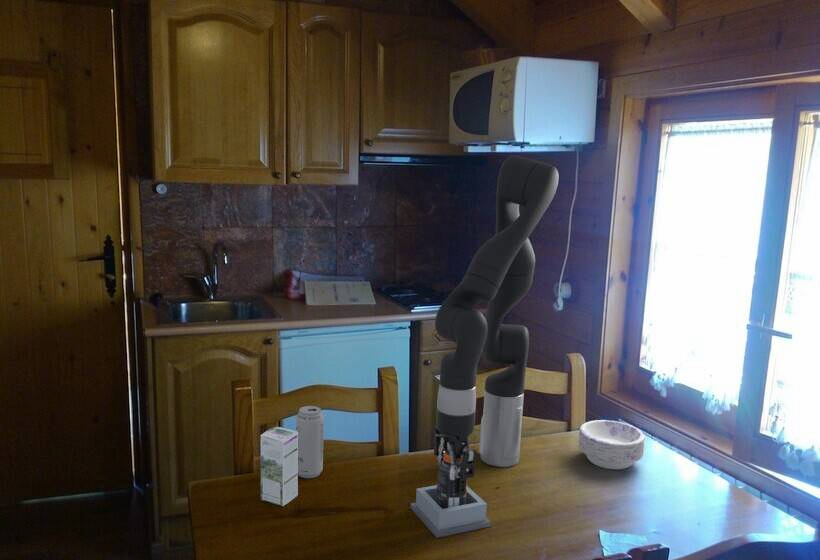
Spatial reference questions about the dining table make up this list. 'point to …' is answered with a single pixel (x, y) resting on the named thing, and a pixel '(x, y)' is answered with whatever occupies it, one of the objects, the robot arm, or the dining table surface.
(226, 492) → the dining table surface
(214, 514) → the dining table surface
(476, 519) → the holder
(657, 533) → the dining table surface
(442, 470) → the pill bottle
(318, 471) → the energy drink can
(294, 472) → the syrup box
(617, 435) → the paper bowls
